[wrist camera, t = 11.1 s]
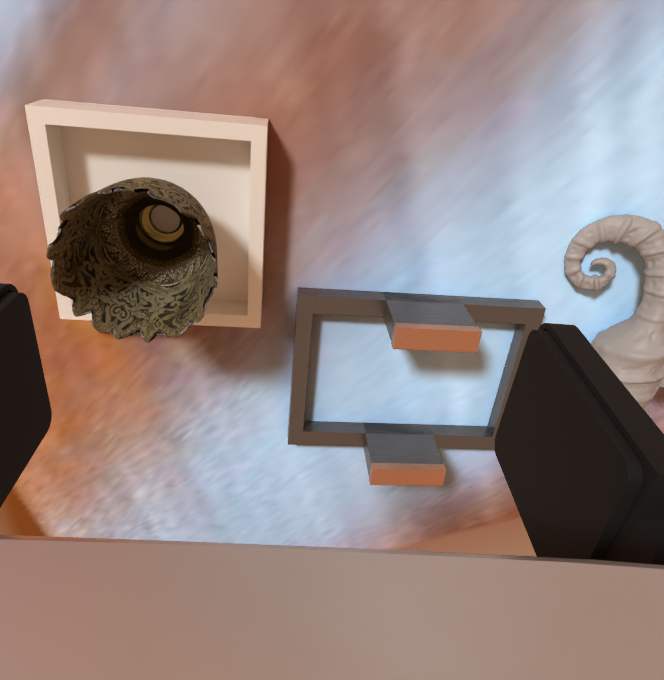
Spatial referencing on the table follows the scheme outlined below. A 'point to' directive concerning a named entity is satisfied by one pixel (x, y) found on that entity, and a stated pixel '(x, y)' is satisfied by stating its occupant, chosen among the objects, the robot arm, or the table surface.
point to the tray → (167, 164)
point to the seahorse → (649, 318)
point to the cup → (135, 259)
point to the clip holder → (411, 334)
